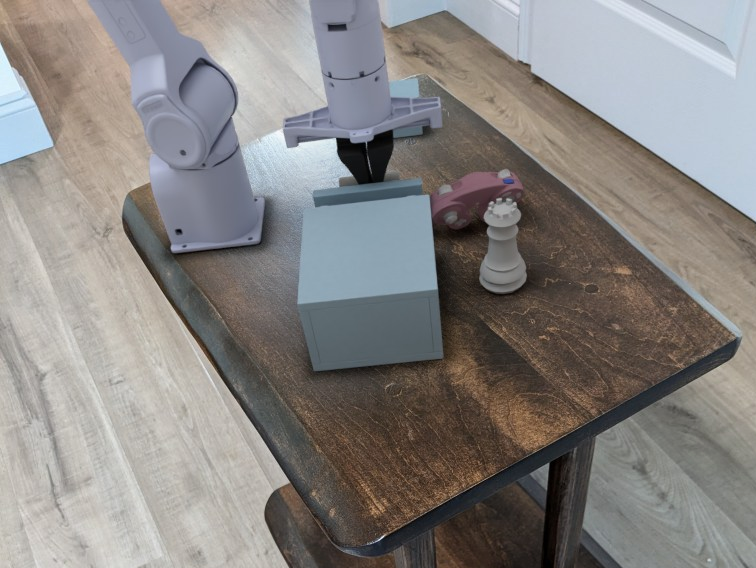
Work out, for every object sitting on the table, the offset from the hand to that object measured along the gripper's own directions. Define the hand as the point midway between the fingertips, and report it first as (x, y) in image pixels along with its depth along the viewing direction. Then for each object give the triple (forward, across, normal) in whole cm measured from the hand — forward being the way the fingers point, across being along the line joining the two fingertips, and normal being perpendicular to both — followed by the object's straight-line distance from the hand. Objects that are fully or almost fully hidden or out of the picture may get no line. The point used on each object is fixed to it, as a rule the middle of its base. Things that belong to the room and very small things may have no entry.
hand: (375, 202), depth 86 cm
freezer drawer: (+3, 0, -6) cm, 6 cm away
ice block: (+3, +3, +20) cm, 21 cm away
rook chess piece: (+4, +12, -10) cm, 16 cm away
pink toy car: (+4, +10, 0) cm, 10 cm away
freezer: (+3, 0, -13) cm, 13 cm away
